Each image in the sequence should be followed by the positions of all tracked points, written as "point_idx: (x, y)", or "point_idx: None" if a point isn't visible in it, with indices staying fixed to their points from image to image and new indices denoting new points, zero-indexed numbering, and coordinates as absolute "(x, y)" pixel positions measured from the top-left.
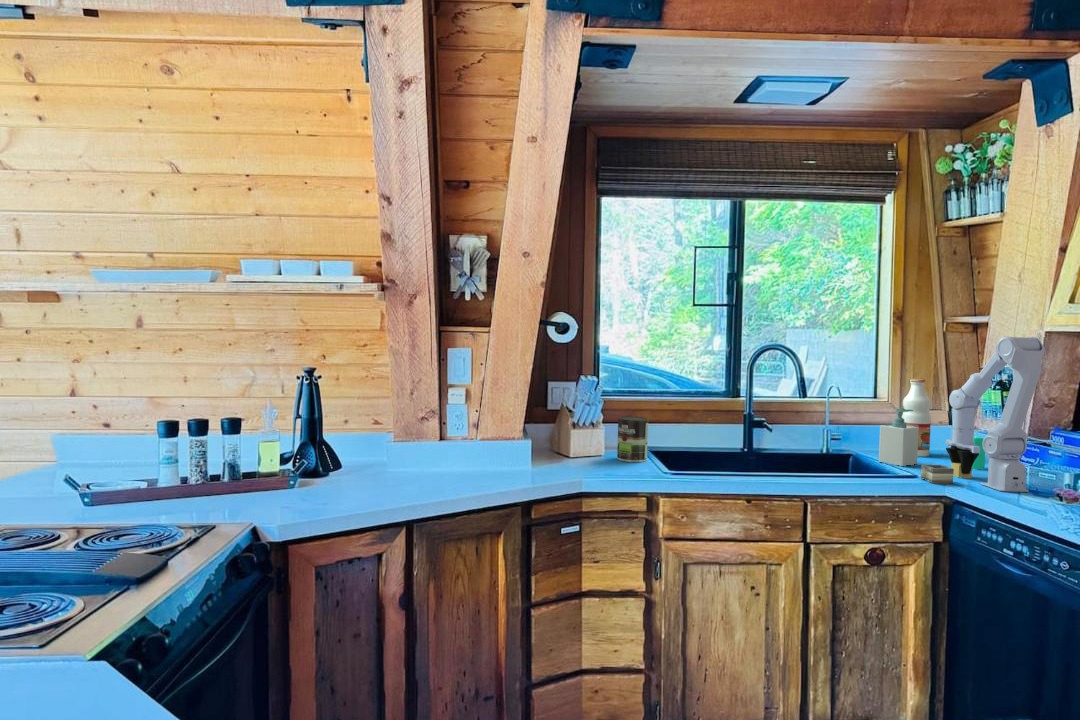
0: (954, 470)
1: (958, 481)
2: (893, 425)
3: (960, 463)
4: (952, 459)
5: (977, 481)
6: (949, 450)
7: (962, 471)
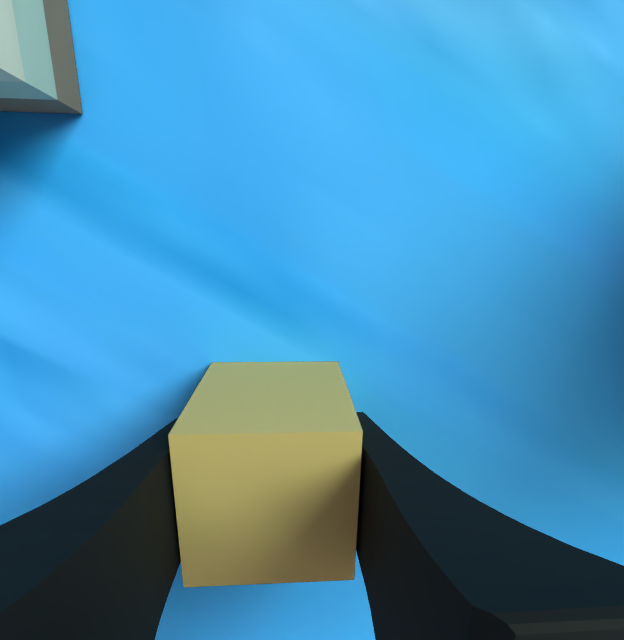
0: (280, 387)
1: (22, 264)
2: None
3: (315, 520)
4: (380, 478)
5: (78, 450)
6: (475, 591)
7: (172, 422)
